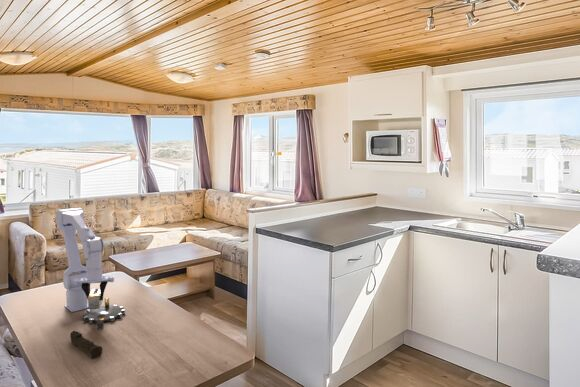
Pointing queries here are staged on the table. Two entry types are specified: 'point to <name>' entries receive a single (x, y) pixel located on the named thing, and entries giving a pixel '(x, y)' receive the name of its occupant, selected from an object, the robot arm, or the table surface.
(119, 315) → the sprocket
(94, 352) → the dark brown bar
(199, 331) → the table surface
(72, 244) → the robot arm
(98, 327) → the index pointer
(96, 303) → the knob box
